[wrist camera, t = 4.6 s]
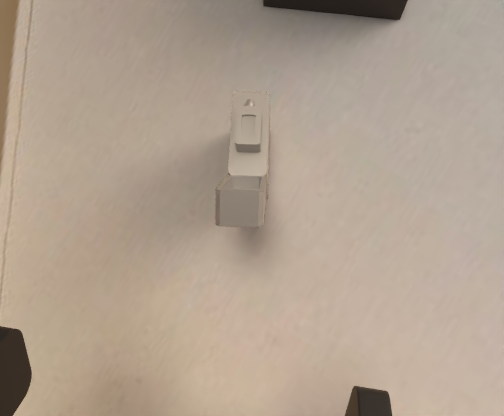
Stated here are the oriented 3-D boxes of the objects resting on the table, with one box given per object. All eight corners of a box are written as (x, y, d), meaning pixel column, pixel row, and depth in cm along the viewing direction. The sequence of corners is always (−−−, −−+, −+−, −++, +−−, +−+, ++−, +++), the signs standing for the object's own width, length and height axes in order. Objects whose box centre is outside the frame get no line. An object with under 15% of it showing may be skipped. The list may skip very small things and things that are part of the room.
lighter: (238, 128, 26) (225, 43, 18) (270, 129, 26) (269, 44, 18) (231, 256, 24) (212, 222, 16) (265, 257, 24) (262, 224, 16)
